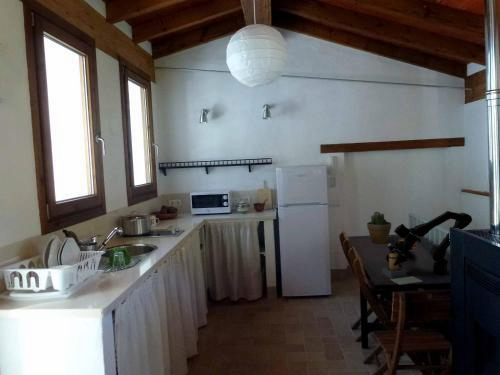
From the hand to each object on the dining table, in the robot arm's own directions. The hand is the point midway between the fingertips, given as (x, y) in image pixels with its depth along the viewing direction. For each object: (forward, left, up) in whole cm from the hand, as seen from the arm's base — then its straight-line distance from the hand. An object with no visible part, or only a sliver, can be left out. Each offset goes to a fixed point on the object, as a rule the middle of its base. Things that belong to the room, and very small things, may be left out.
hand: (391, 264), depth 225 cm
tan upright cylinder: (-1, 0, -6) cm, 7 cm away
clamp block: (-1, 0, -7) cm, 7 cm away
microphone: (-13, -19, -8) cm, 24 cm away
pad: (-1, +12, -7) cm, 14 cm away
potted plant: (-36, -77, -7) cm, 86 cm away
